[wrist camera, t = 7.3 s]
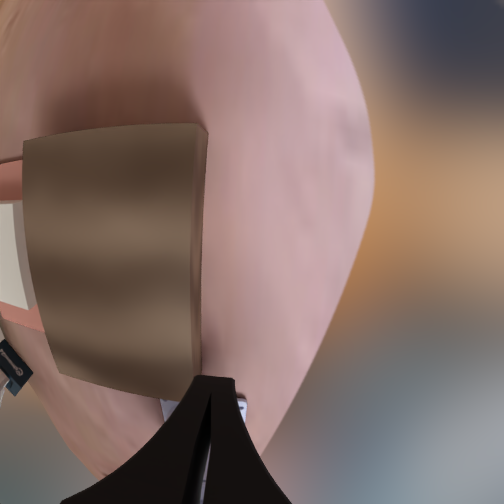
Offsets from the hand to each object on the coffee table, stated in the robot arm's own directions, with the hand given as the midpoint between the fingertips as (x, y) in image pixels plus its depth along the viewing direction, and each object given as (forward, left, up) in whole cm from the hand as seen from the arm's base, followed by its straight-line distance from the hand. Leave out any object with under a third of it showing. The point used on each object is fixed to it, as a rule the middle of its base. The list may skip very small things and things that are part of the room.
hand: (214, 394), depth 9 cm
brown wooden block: (+1, +8, -10) cm, 13 cm away
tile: (+1, +20, -8) cm, 22 cm away
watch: (-14, +27, -11) cm, 32 cm away
